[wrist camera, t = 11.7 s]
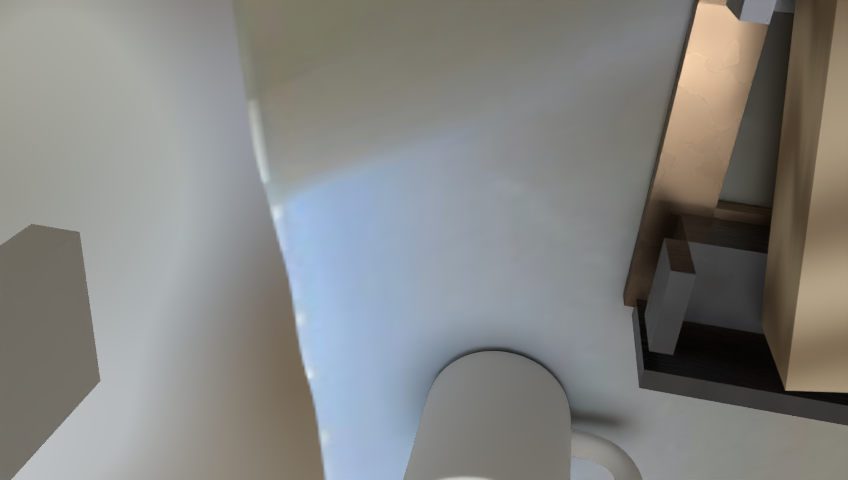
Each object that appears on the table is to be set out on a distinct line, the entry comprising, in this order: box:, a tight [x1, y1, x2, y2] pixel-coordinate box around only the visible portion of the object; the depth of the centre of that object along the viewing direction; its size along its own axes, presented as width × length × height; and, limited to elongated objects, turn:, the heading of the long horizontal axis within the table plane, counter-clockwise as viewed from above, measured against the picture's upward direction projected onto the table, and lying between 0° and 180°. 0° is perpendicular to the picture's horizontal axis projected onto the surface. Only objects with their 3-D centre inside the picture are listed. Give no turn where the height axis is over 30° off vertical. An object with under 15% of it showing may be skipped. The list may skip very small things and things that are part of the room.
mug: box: [403, 351, 642, 480], centre depth 40 cm, size 12×8×10 cm
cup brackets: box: [623, 0, 848, 425], centre depth 31 cm, size 22×13×7 cm, turn 175°
